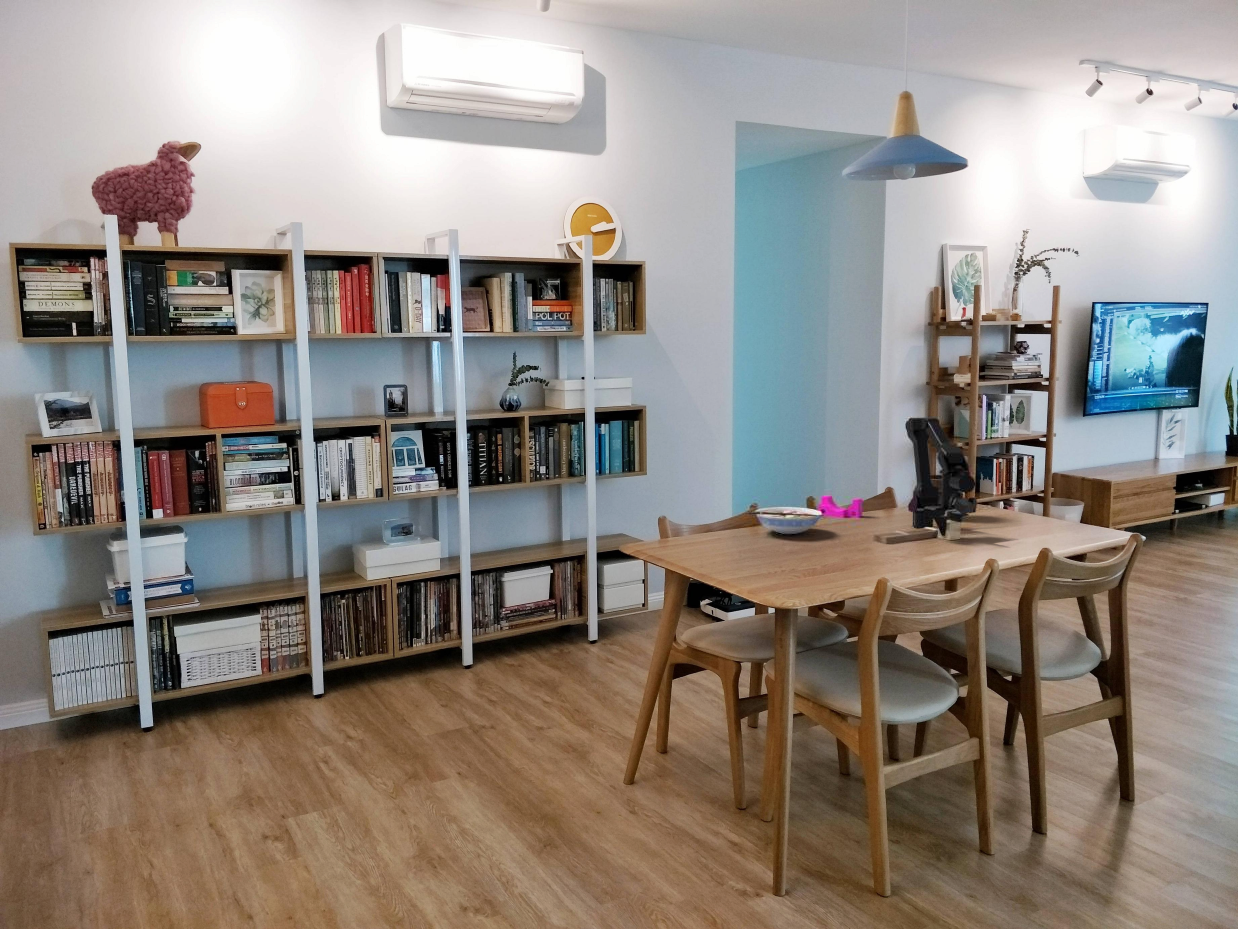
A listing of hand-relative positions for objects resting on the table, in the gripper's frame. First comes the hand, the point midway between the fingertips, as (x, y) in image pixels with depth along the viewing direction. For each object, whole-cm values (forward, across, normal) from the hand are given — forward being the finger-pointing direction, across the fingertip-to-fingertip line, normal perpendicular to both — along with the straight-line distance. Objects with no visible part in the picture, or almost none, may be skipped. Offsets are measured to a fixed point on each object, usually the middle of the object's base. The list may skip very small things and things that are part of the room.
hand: (948, 535), depth 323 cm
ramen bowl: (+2, -40, +35) cm, 53 cm away
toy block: (+2, -2, +51) cm, 51 cm away
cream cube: (+1, 0, 0) cm, 1 cm away
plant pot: (+1, +25, +26) cm, 36 cm away
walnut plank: (+1, -10, +7) cm, 12 cm away
